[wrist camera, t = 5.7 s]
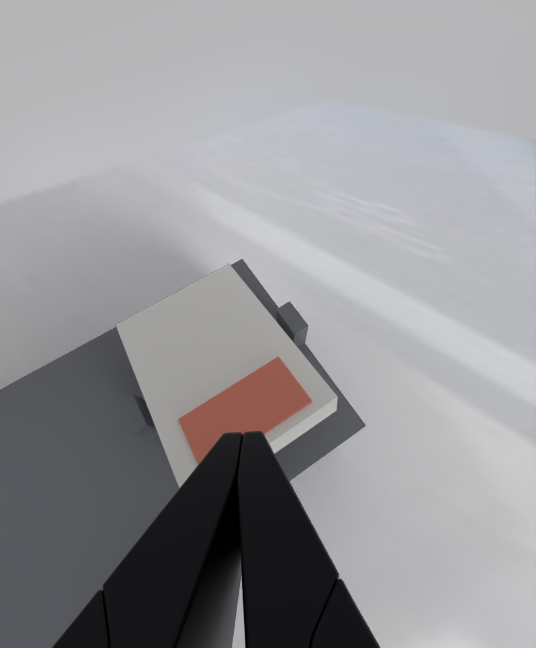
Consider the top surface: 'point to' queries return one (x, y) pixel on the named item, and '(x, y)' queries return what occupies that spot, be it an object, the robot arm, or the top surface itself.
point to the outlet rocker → (220, 370)
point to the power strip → (99, 475)
